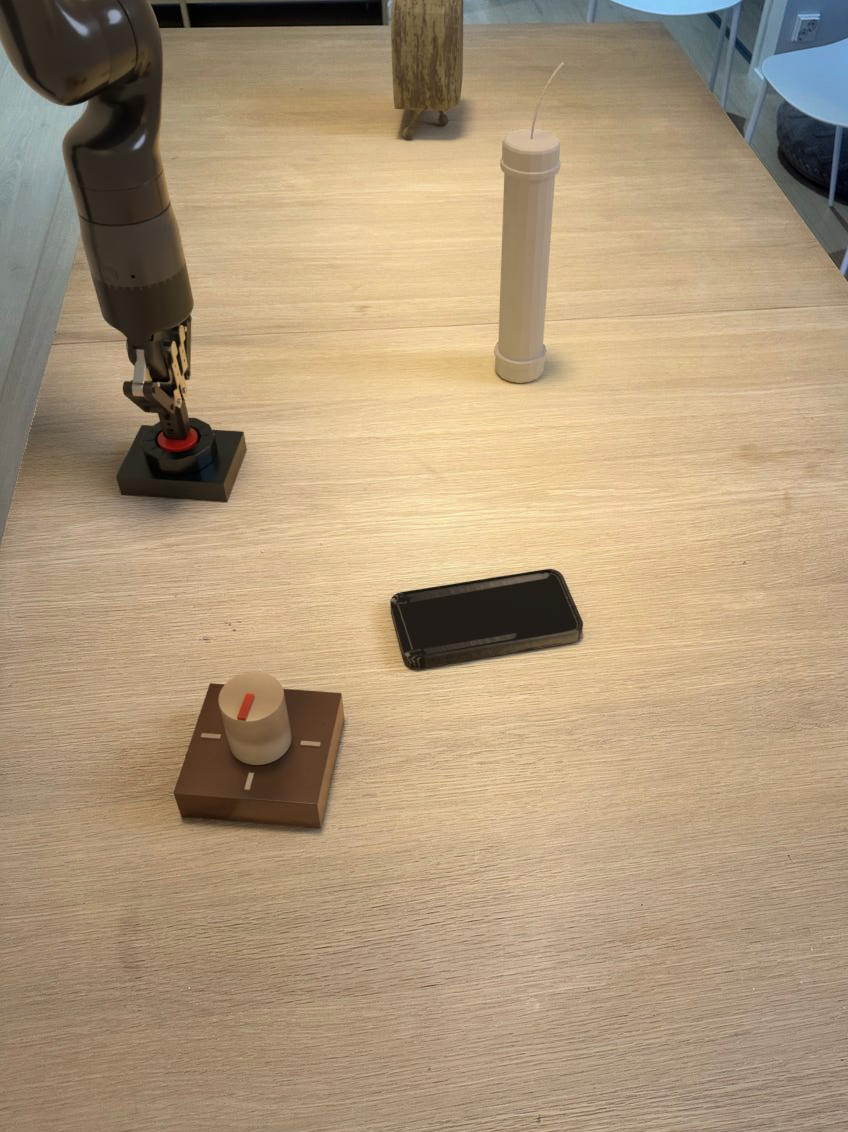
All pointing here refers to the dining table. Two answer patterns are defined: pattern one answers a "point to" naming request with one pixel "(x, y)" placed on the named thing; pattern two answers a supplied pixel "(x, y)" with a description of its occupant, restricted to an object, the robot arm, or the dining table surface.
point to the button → (178, 442)
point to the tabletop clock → (426, 56)
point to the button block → (183, 465)
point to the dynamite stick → (525, 249)
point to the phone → (484, 618)
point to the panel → (263, 766)
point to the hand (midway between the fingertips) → (178, 434)
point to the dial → (255, 718)
